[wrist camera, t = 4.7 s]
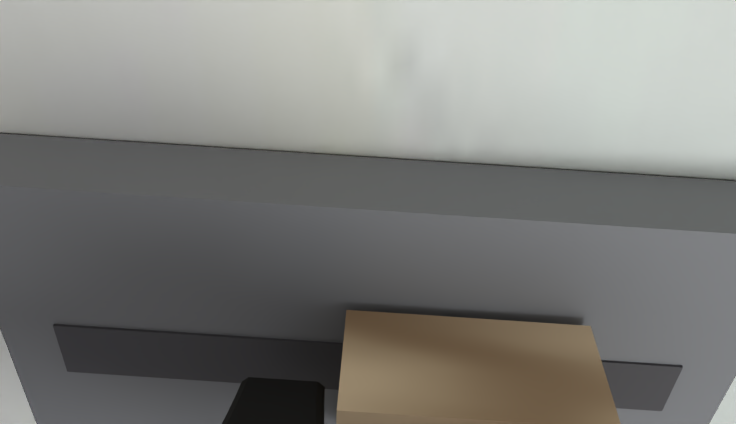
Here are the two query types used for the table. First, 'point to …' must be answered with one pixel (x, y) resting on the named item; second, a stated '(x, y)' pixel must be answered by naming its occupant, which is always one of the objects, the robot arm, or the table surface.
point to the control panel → (341, 271)
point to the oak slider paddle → (469, 372)
